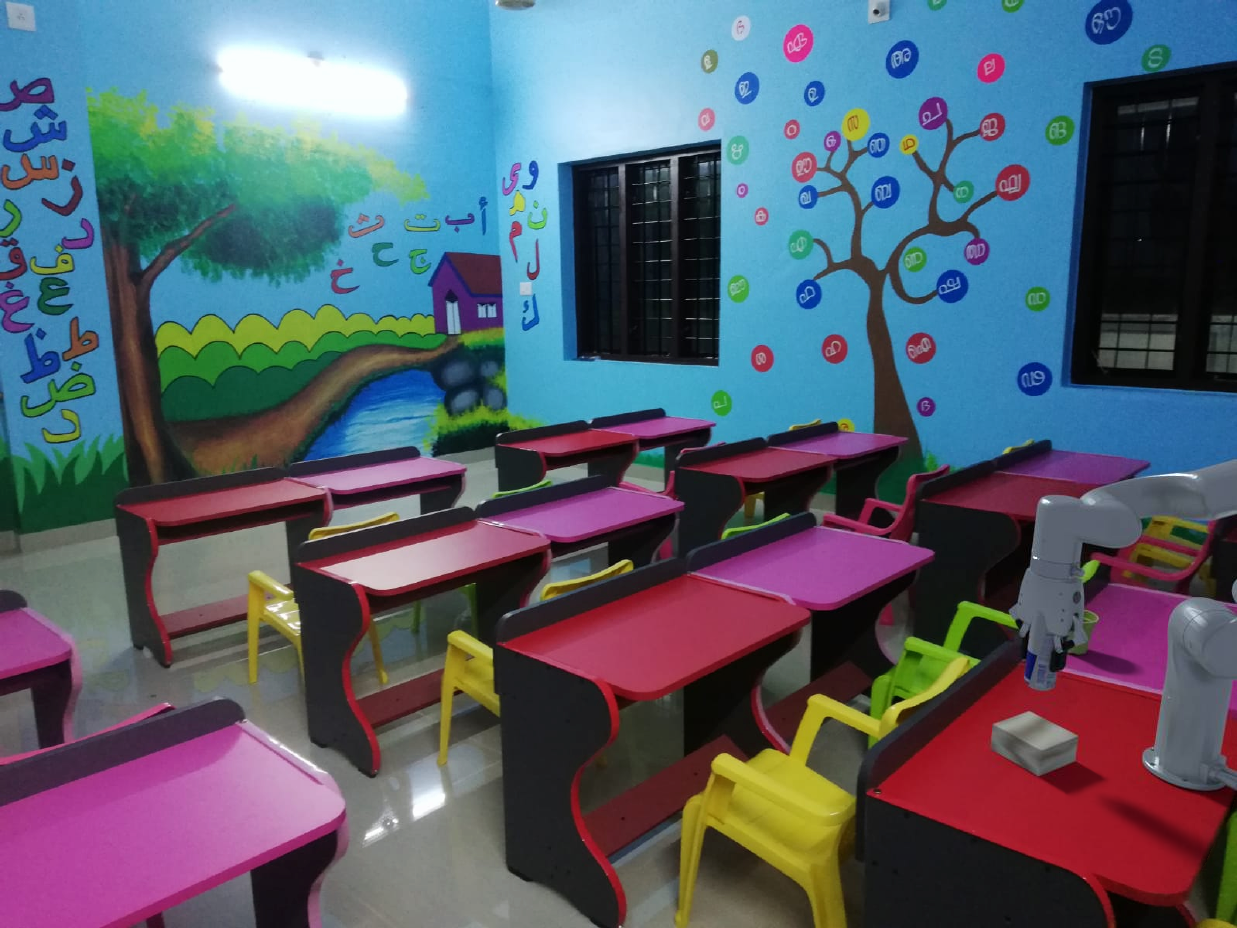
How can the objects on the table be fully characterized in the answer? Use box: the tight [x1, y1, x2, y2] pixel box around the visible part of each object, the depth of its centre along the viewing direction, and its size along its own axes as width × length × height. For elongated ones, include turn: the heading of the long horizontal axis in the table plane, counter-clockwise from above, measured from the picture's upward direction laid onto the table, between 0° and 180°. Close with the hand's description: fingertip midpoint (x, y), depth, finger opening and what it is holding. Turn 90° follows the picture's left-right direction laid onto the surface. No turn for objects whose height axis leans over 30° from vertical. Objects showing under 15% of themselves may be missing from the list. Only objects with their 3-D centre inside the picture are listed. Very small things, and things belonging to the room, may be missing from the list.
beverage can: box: [1023, 610, 1058, 692], centre depth 154 cm, size 5×5×15 cm
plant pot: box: [1062, 609, 1100, 656], centre depth 201 cm, size 9×9×9 cm
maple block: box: [990, 711, 1079, 777], centre depth 158 cm, size 10×10×5 cm
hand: (1042, 662), depth 154 cm, fingers closed on beverage can, 5 cm apart
